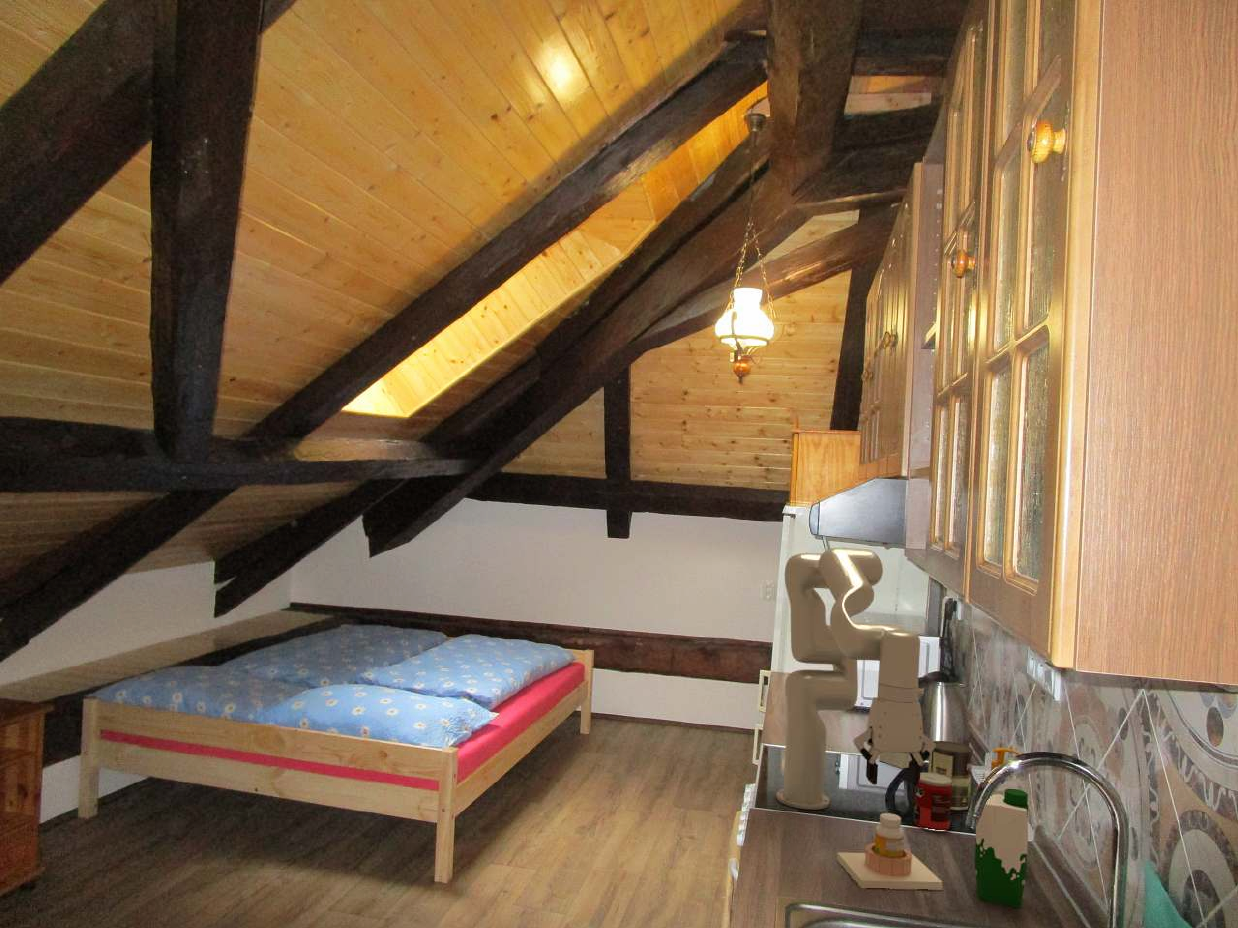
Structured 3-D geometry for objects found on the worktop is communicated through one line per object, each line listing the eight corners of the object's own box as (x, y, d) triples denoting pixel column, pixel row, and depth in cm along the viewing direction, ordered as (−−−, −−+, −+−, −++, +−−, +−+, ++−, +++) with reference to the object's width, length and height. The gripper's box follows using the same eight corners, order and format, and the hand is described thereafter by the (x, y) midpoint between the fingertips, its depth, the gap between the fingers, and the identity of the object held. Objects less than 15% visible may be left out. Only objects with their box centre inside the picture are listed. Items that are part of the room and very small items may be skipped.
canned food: (918, 817, 209) (921, 770, 210) (953, 826, 205) (956, 778, 205) (908, 825, 203) (911, 777, 203) (944, 835, 198) (947, 785, 199)
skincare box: (878, 761, 254) (881, 708, 255) (891, 758, 258) (894, 707, 259) (904, 769, 248) (906, 715, 248) (916, 766, 251) (919, 713, 252)
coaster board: (836, 859, 180) (837, 852, 180) (912, 861, 182) (912, 854, 182) (861, 888, 167) (861, 880, 167) (941, 889, 169) (942, 881, 169)
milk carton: (1025, 911, 162) (1031, 801, 163) (972, 900, 165) (977, 791, 166) (1023, 893, 170) (1028, 787, 171) (973, 882, 173) (978, 779, 174)
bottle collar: (858, 857, 178) (859, 841, 179) (899, 858, 179) (900, 843, 180) (875, 875, 170) (876, 859, 170) (918, 876, 171) (919, 860, 171)
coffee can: (969, 800, 224) (971, 744, 225) (971, 813, 214) (974, 754, 215) (925, 793, 227) (928, 738, 228) (926, 805, 218) (929, 747, 218)
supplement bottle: (871, 859, 178) (874, 810, 178) (899, 862, 177) (901, 812, 178) (876, 870, 172) (879, 819, 173) (904, 873, 172) (907, 822, 172)
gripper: (930, 691, 181) (926, 778, 180) (848, 687, 179) (843, 775, 178) (948, 699, 173) (943, 790, 172) (862, 696, 171) (857, 787, 171)
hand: (892, 782), depth 175 cm, fingers open, 7 cm apart
